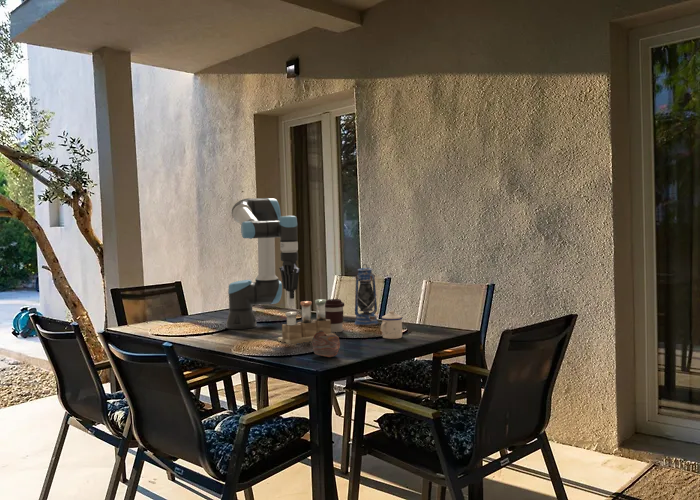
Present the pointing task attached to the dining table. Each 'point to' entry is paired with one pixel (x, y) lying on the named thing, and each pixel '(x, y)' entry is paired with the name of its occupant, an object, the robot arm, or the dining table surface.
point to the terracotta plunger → (306, 311)
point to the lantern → (365, 297)
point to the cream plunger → (291, 318)
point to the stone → (325, 344)
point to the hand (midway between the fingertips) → (290, 305)
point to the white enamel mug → (391, 326)
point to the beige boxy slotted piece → (304, 331)
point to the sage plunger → (320, 309)
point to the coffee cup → (334, 314)
